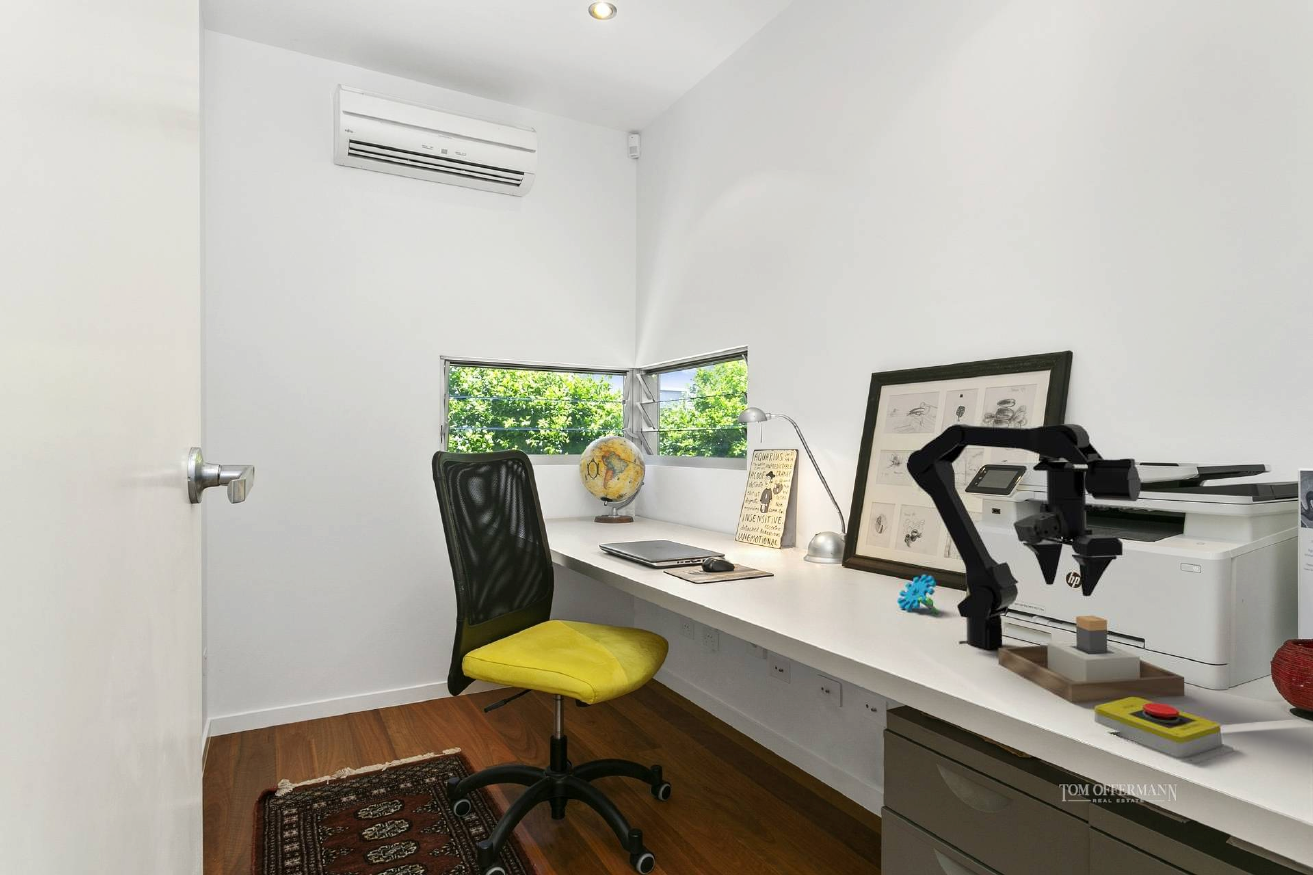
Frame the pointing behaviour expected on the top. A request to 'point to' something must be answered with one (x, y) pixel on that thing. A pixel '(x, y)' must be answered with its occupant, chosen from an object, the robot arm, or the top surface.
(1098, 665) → the block
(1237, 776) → the top surface
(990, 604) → the robot arm
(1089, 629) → the plug
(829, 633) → the top surface
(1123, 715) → the emergency button
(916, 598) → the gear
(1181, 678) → the walled box
